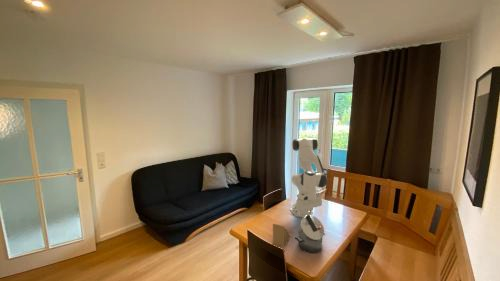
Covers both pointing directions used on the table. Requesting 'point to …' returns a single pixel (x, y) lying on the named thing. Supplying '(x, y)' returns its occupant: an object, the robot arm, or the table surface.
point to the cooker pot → (308, 243)
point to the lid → (312, 227)
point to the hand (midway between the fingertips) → (309, 213)
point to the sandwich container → (280, 235)
